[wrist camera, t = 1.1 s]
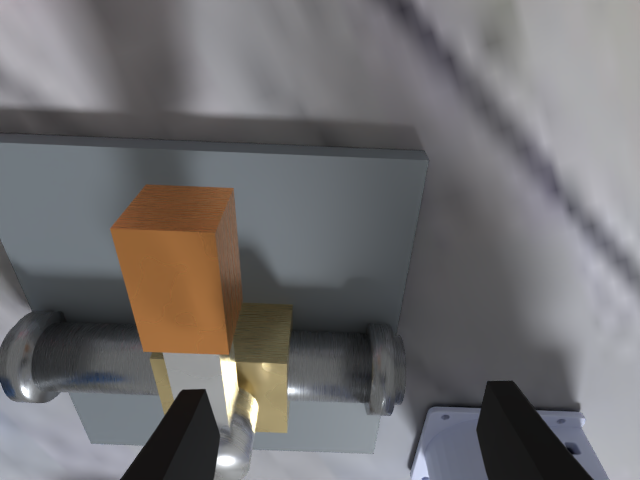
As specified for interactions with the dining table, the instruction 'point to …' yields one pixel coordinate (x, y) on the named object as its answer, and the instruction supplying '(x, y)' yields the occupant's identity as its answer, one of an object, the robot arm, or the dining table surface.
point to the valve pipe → (250, 357)
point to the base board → (253, 241)
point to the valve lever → (191, 301)
